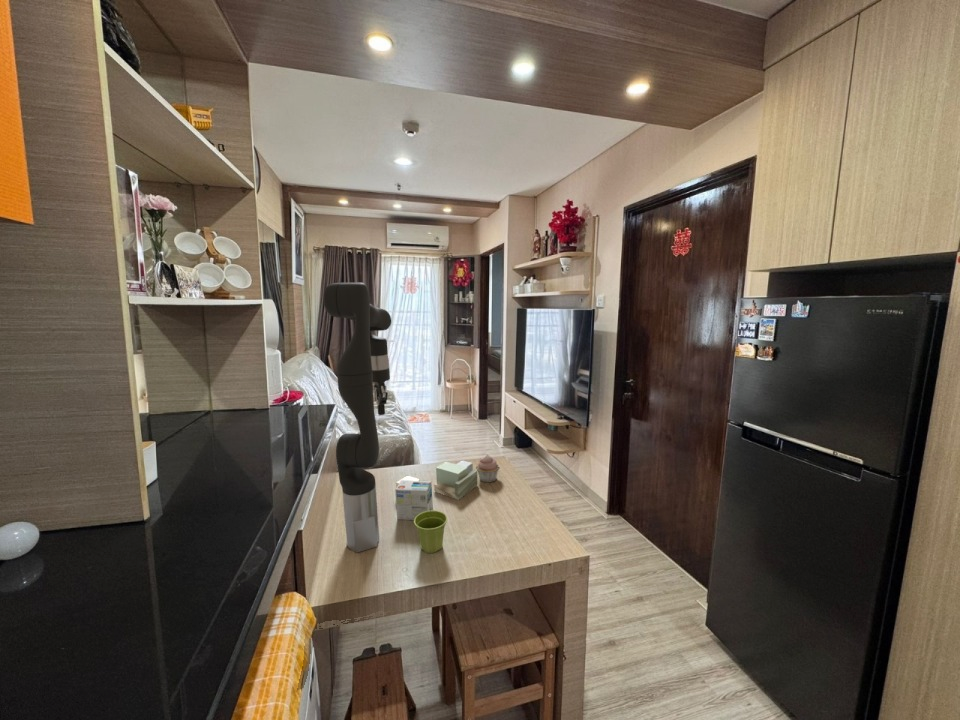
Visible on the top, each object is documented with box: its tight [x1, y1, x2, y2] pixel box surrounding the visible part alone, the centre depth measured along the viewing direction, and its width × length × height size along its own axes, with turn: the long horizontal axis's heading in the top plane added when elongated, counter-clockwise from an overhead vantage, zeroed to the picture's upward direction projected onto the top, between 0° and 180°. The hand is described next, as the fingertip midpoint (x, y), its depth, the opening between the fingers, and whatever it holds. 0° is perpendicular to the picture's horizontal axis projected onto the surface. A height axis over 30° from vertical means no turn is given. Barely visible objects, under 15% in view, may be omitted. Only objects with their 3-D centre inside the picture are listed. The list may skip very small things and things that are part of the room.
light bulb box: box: [394, 479, 434, 521], centre depth 130 cm, size 11×7×11 cm, turn 84°
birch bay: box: [433, 469, 478, 501], centre depth 147 cm, size 11×12×6 cm
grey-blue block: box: [456, 460, 474, 474], centre depth 157 cm, size 5×5×5 cm
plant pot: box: [413, 510, 448, 554], centre depth 114 cm, size 9×9×9 cm
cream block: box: [395, 475, 421, 489], centre depth 143 cm, size 6×6×6 cm
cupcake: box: [475, 454, 501, 483], centre depth 154 cm, size 9×9×10 cm
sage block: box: [435, 461, 468, 488], centre depth 148 cm, size 10×6×8 cm, turn 58°
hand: (381, 414), depth 144 cm, fingers closed
